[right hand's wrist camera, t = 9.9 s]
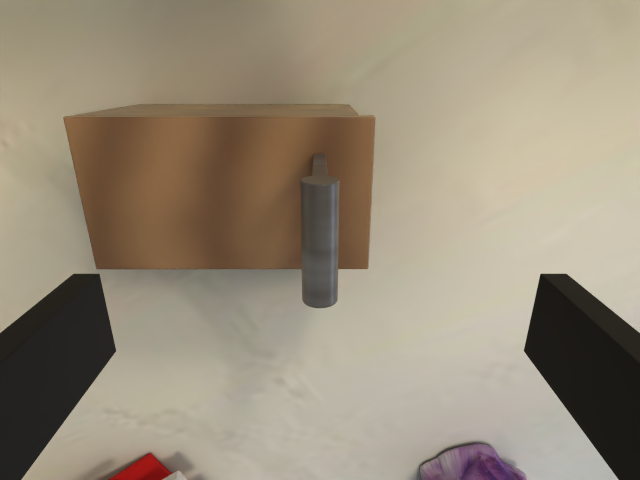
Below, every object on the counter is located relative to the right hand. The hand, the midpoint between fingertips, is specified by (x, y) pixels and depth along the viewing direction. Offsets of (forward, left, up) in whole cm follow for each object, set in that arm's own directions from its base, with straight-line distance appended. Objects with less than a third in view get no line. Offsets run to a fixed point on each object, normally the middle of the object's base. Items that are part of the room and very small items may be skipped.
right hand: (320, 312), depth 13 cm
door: (+2, -5, -13) cm, 14 cm away
